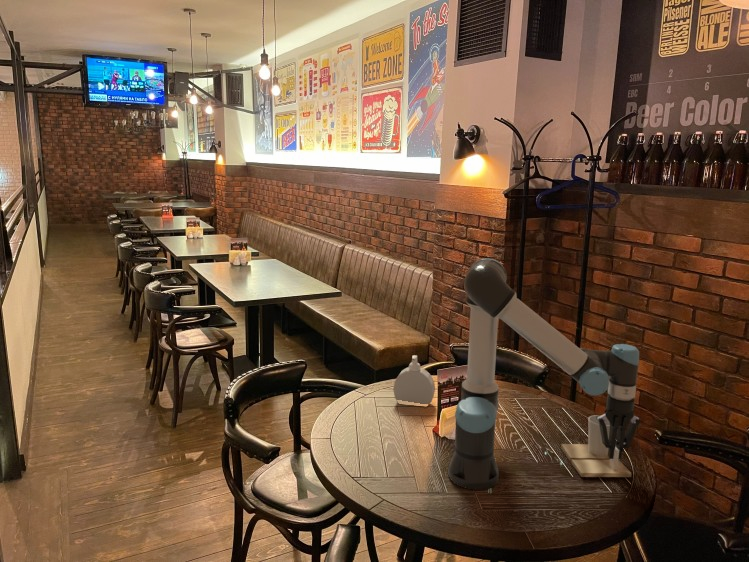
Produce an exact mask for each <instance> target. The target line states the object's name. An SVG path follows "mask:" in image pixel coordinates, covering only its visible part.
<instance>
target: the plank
mask: <svg viewBox="0 0 749 562" xmlns="http://www.w3.org/2000/svg"><path fill="white" fill-rule="evenodd" d="M570 463H571V465H572V466H573V468H574V469H575V470H576V471H577V473H578V474H579V476H580V477H581V478H584V477H585V478H597V477H598V478H631V477H632V472H631V471H630V470H629V469H628V468H627V467H626V466H625V465H624V464H623V463H622V461H621V460H620V459H618V466H617V470H613V469H612V468H611V467H610V466H609V465H610V460H571V462H570Z"/></svg>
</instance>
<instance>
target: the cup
mask: <svg viewBox="0 0 749 562" xmlns="http://www.w3.org/2000/svg"><path fill="white" fill-rule="evenodd" d="M596 416H598V415H596V414H595V415H594V414H593V415H590V416H588V417H587V418H588V419H587V421H588V422H587V423H588V426H587V427H588V428H587V430H588V434H587V435H588V436H587V439H588V441H587V444H588V451H589V452H590V453H591V454H593V455H595V456H598V455H599V456H601V457H603V456H607V455H608V448H606V447H605V446H604V444H603V443H602V437H601V431H600V425H599V422H598V420H597V418H596ZM609 423H610V422H609V421H608V419H607V418H606V423H605V424H606V428H607V434H608V440H609V430H610V424H609Z"/></svg>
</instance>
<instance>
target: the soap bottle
mask: <svg viewBox="0 0 749 562" xmlns="http://www.w3.org/2000/svg"><path fill="white" fill-rule="evenodd" d="M411 356H412V357H411V358H412V359H411V362H410V363H409V365H408V367H406V368H404V369H402V370H401V372H400V373H399V374H398V376H397V377H396V379H395V380H394V384H393V388H392V389H393V390H392V391H393V394H394V399H395V400H396V401H397V400H402V401H408V402H414V403H420V404H428V405H429V406H430V405H431V403H432V402H433V399H434V397H435V392H436V384H435V380H434V378H433V377H432V375H431V373H429V372H428V370H426V369H424V368H423V367H421V364H420V363H419V362H418V355H415V354H414V355H411Z"/></svg>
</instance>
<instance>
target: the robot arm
mask: <svg viewBox="0 0 749 562" xmlns="http://www.w3.org/2000/svg"><path fill="white" fill-rule="evenodd" d="M507 279H508V274H507V271H506V269H505V267H504V266H503V265H502V263H501V262H499V261H497V260H496V259H493V258H482V259H479V260H477V261H475V262H474V263H473V264H471V265H470V267H469V269H468V272H467V273H466V275H465V277H464V281H463V287H464V292H465V294H466V297H465V302H466V304H467V305H468V306H469V307H470V315H469V331H468V332H469V334H468V335H469V336H468V354H467V371H466V379H465V380H463V381H462V383H461V391H460V392H461V395H460V401H459V402H458V404H457V405H456V407H455V412H454V417H455V431H454V433H455V434H454V436H455V437H454V452H453V455H452V457H451V460H450V463H449V465H448V469H447V470H448V471H447V473H448V474H449V476H448V478H449V477H450V478H451V479H452V481H453V482H455V483H456V484H458V485H460V486H462V487H461V488H463V487H466V488H469V489H468V490H471V489H473V491H474V490H475V491H480V490H481V491H482V490H488V489H491V488H493V487H494V486H496V485H498V483H499V476H500V472H499V468H498V465H497V461H496V457H495V454H494V453H495V451H494V449H495V435H496V433H495V432H496V431H495V430H496V424H497V416H498V415H497V414H498V410H499V407H500V406H499V389H500V388H499V385H498V383H497V382H495V374H496V372H495V371H496V358H497V357H496V356H497V345H498V344H497V342H498V327H499V326H498V325H499V319H500V320H501V321H502V322H503V323H505V324H506V325H507V326H509V327H510V328H511V329H512V330H513V331H515V332H516V333H517V334H518V335H520V336H521V337H522V338H524V340H526V341H527V342H528V343H530V344H531V345H532V346H533V347H535V349H537V350H538V351H540V352H541V353H542V354H543V355H544V356H546V358H548V359H549V360H551V361H552V362H553V363H554V364H556V365H557V366H558V367H559V368H561V370H563V371H564V372H566V373H567V374H568V375H569V376H570V377H571V378H573V380H575V381H576V382H577V383H578V384H579V386H580V388H581V389H582V390H583V391H584V393H585V394H587V395H589V396H601V395H603V394H604V393H605V392H606V391H607V396H606V397H607V398H606V404H605V405H606V407H605V410H604V411H603V414H602V415H598V416H596V418H597V420H598V422H599V425H600V431H601V437H602V443H603V444H604V446H605V447H606V448H608V457H609V458H610V465H609V466H610V467H611V468H612V469H613V470H617V466H618V460H621V459H622V453H623V452H624V451H625V449H629V448H630V445H631V444H632V440H633V438H634V436H635V433H636V431H637V428H638V426H640V424H641V423H642V420H641V419H640V418H639V417H638V416H636V415H635V413H634V409H635V402H636V401H635V397H636V392H637V391H636V390H637V381H638V373H639V372H638V371H639V365H640V350H639V349H638V348H637V347H636V346H634V345H630V344H626V343H617V344H614V345H612V348H611V350H599V349H588V348H584V347H581V348H580V347H578V346H577V344H574V342H572V341H571V340H570V339H568V338H567V337H566V336H565V335H564V334H562V332H560V331H559V330H557V329H556V327H554V326H552V325H551V324H550V323H549V322H548V321H547V320H545V319H544V318H542V316H541V315H539V314H538V313H536V312H535V311H534V310H533V309H531V308H530V307H529V306H528V305H527V304H525V303H524V302H523V301H521V300H520V299H519V298H517V297H518V296H517V292H516V291H515V290H514V289H512V288H511V286H509V284H508V283H507V281H508V280H507ZM606 418H607V419H608V421H609V422H610V423H609V424H610V430H609V440H608V434H607V428H606V424H605V423H606ZM628 423H629V424H628ZM627 425H628V426H627ZM450 478H449V479H450ZM452 481H451V482H452ZM453 482H452V483H453ZM455 483H454V484H455ZM456 484H455V485H456ZM458 485H457V486H458ZM460 486H459V487H460ZM466 488H465V489H466Z"/></svg>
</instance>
